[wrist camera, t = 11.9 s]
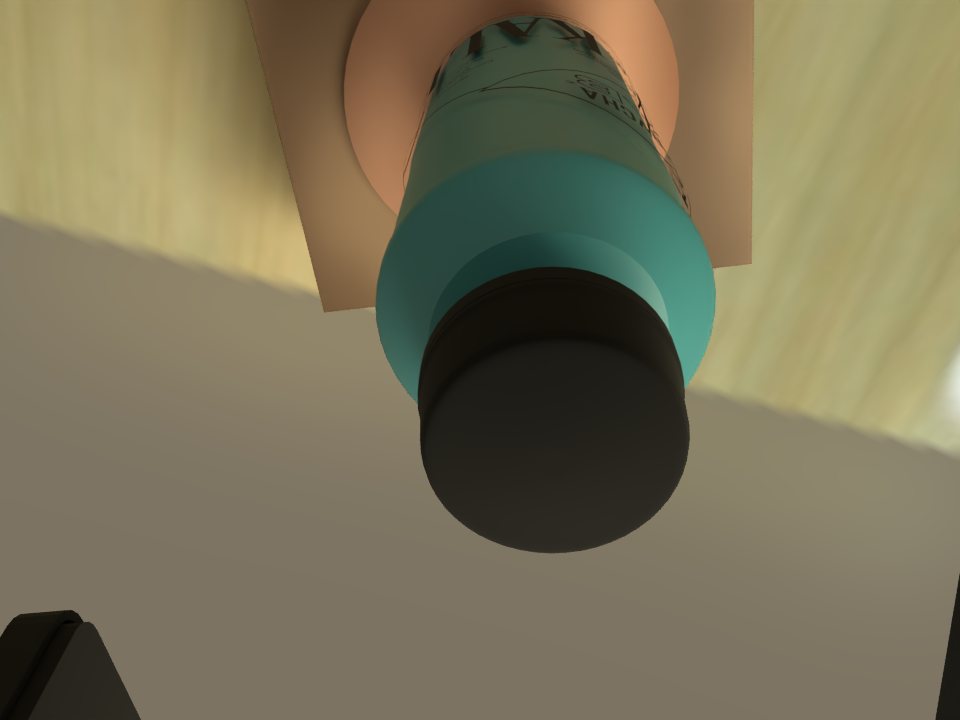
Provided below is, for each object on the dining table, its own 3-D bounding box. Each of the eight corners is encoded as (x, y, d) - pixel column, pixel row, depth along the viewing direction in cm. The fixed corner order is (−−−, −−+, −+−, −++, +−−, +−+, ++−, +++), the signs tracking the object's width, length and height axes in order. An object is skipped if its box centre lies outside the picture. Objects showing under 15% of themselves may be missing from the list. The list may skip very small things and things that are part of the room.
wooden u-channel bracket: (704, -177, 34) (760, -177, 26) (709, 188, 40) (755, 270, 33) (278, -110, 35) (216, -91, 28) (354, 231, 42) (321, 319, 35)
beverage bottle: (562, 229, 32) (633, 688, 15) (392, 139, 31) (254, 535, 14) (667, 61, 29) (905, 392, 12) (484, -46, 28) (459, 156, 11)
